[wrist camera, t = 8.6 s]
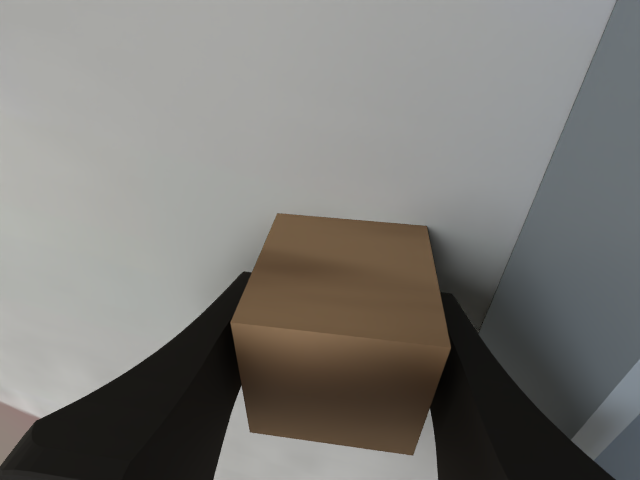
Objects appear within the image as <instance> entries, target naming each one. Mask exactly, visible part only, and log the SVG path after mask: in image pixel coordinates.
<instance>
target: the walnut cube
mask: <svg viewBox="0 0 640 480" xmlns="http://www.w3.org/2000/svg"><path fill="white" fill-rule="evenodd" d="M230 323H231V328H232V334H233V339H234V345H235V351H236V356H237V362H238V368H239V373H240V379H241V384H242V390H243V396H244V401H245V407H246V413H247V418H248V424H249V430H250V432H252V433H259V434H266V435H273V436H280V437H287V438H294V439H301V440H308V441H315V442H322V443H329V444H336V445H343V446H350V447H357V448H364V449H371V450H378V451H385V452H392V453H399V454H406V455H413V454H414V451H415V448H416V445H417V443H418V440H419V437H420V434H421V431H422V428H423V426H424V423H425V420H426V417H427V414H428V411H429V409H430V406H431V403H432V400H433V397H434V394H435V392H436V389H437V386H438V383H439V380H440V377H441V375H442V372H443V369H444V366H445V363H446V360H447V358H448V355H449V352H450V349H451V345H450V340H449V335H448V330H447V325H446V320H445V315H444V310H443V305H442V300H441V295H440V290H439V285H438V280H437V275H436V270H435V265H434V260H433V255H432V250H431V245H430V240H429V235H428V230H427V226H421V225H409V224H397V223H386V222H374V221H362V220H350V219H338V218H326V217H315V216H303V215H291V214H279V213H277V216H276V218H275V220H274V222H273V225H272V227H271V229H270V232H269V234H268V236H267V239H266V241H265V243H264V246H263V248H262V250H261V253H260V255H259V257H258V260H257V262H256V264H255V267H254V269H253V271H252V274H251V276H250V278H249V281H248V283H247V285H246V288H245V290H244V292H243V294H242V297H241V299H240V301H239V304H238V306H237V308H236V311H235V313H234V315H233V318H232V320H231V322H230Z"/></svg>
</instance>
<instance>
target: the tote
mask: <svg viewBox="0 0 640 480" xmlns="http://www.w3.org/2000/svg"><path fill="white" fill-rule="evenodd" d="M479 336H480V337H481V339H482V340H483V341H484V343H485V344H486V346H487V347H488V348H489V350H490V351H491V353H492V354H493V355H494V357H495V358H496V359H497V361H498V362H499V363H500V364H501V366H502V367H503V368H504V369H505V371H506V372H507V373H508V375H509V376H510V377H511V378H512V379H513V381H514V382H515V383H516V384H517V385H518V386H519V388H520V389H521V390H522V391H523V392H524V393H525V394H526V396H527V397H528V398H529V399H530V400H531V401H532V402H533V403H534V404H535V405H536V406H537V408H538V409H539V410H540V411H541V412H542V413H543V414H544V415H545V416H546V417H547V418H548V419H549V420H550V421H551V422H552V423H553V424H554V425H556V426H557V427H558V428H559V429H560V430H561V431H562V432H563V433H564V434H565V435H566V436H567V437H568V438H569V439H570V440H571V441H572V442H573V443H574V444H575V445H577V446H578V447H579V448H580V449H581V450H582V451H583V452H584V453H585V454H587V455H588V456H589V457H590V458H591V459H592V460H593V461H595V462H596V463H597V464H598V465H599V466H600V467H602V468H603V469H604V470H605V471H606V472H607V473H609V474H610V475H611V476H612V477H613V478H615V479H616V480H640V0H617V2H616V5H615V7H614V10H613V12H612V14H611V17H610V19H609V22H608V24H607V26H606V29H605V31H604V34H603V36H602V38H601V41H600V43H599V46H598V48H597V50H596V53H595V55H594V58H593V60H592V62H591V65H590V67H589V70H588V72H587V74H586V77H585V79H584V82H583V84H582V86H581V89H580V91H579V94H578V96H577V98H576V101H575V103H574V106H573V108H572V110H571V113H570V115H569V118H568V120H567V122H566V125H565V127H564V130H563V132H562V134H561V137H560V139H559V142H558V144H557V146H556V149H555V151H554V154H553V156H552V158H551V161H550V163H549V166H548V168H547V170H546V173H545V175H544V178H543V180H542V182H541V185H540V187H539V190H538V192H537V194H536V197H535V199H534V202H533V204H532V206H531V209H530V211H529V214H528V216H527V218H526V221H525V223H524V226H523V228H522V230H521V233H520V235H519V238H518V240H517V242H516V245H515V247H514V250H513V252H512V254H511V257H510V259H509V262H508V264H507V266H506V269H505V271H504V274H503V276H502V278H501V281H500V283H499V286H498V288H497V290H496V293H495V295H494V298H493V300H492V302H491V305H490V307H489V310H488V312H487V314H486V317H485V319H484V322H483V324H482V326H481V329H480V331H479Z"/></svg>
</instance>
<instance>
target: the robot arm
mask: <svg viewBox="0 0 640 480" xmlns="http://www.w3.org/2000/svg"><path fill="white" fill-rule="evenodd" d="M251 274H252V272H243V273H241V274H240V275H239V276H238V277H237V279H236V280H235V281H234V282H233V283H232V284H231V285H230V286H229V287H228V288H227V289H226V290H225V291H224V292H223V293H222V294H221V295H220V296H219V297H218V298H217V299H216V300H215V301H214V302H213V303H212V304H211V305H210V306H209V307H208V308H207V309H206V310H205V311H204V312H203V313H202V314H201V315H200V316H199V317H198V318H197V319H195V320H194V321H193V322H192V323H191V324H190V325H189V326H187V327H186V328H185V329H184V330H183V331H182V332H181V333H179V334H178V335H177V336H176V337H175V338H173V339H172V340H171V341H170V342H168V343H167V344H166V345H164V346H163V347H162V348H160V349H159V350H158V351H157V352H155V353H154V354H152V355H151V356H150V357H148V358H147V359H145V360H144V361H142V362H141V363H139V364H138V365H136V366H135V367H133V368H132V369H130V370H129V371H127V372H126V373H124V374H123V375H121V376H120V377H118V378H116V379H115V380H113V381H111V382H109V383H108V384H106V385H104V386H103V387H101V388H99V389H97V390H96V391H94V392H92V393H90V394H89V395H87V396H85V397H83V398H81V399H79V400H77V401H75V402H73V403H71V404H69V405H67V406H65V407H63V408H61V409H59V410H57V411H55V412H53V413H51V414H49V415H47V416H45V417H43V418H41V419H39V420H37V421H36V422H35V423H34V424H33V425H32V426H31V427H30V429H29V430H28V431H27V432H26V433H25V435H24V436H23V437H22V439H21V440H20V441H19V442H18V444H17V445H16V446H15V448H14V449H13V451H12V452H11V453H10V454H9V455H8V457H7V458H6V459H5V461H4V462H3V463H2V465H1V466H0V480H213V479H214V474H215V471H216V467H217V463H218V459H219V455H220V452H221V448H222V444H223V440H224V437H225V433H226V430H227V426H228V423H229V419H230V415H231V412H232V409H233V406H234V403H235V401H236V398H237V395H238V393H239V390H240V388H241V385H242V384H241V379H240V373H239V368H238V362H237V356H236V351H235V345H234V339H233V334H232V328H231V323H230V322H231V320H232V318H233V315H234V313H235V311H236V308H237V306H238V304H239V301H240V299H241V297H242V294H243V292H244V290H245V288H246V285H247V283H248V281H249V278H250V276H251ZM440 295H441V300H442V305H443V310H444V315H445V320H446V325H447V330H448V335H449V340H450V345H451V349H450V352H449V355H448V358H447V360H446V363H445V366H444V369H443V372H442V375H441V377H440V380H439V383H438V386H437V389H436V392H435V394H434V397H433V400H432V403H431V406H430V410H431V416H432V422H433V427H434V435H435V442H436V455H437V468H438V480H616V479H615V478H613V477H612V476H611V475H610V474H609V473H607V472H606V471H605V470H604V469H603V468H602V467H600V466H599V465H598V464H597V463H596V462H595V461H593V460H592V459H591V458H590V457H589V456H588V455H587V454H585V453H584V452H583V451H582V450H581V449H580V448H579V447H578V446H577V445H575V444H574V443H573V442H572V441H571V440H570V439H569V438H568V437H567V436H566V435H565V434H564V433H563V432H562V431H561V430H560V429H559V428H558V427H557V426H556V425H554V424H553V423H552V422H551V421H550V420H549V419H548V418H547V417H546V416H545V415H544V414H543V413H542V412H541V411H540V410H539V409H538V408H537V406H536V405H535V404H534V403H533V402H532V401H531V400H530V399H529V398H528V397H527V396H526V394H525V393H524V392H523V391H522V390H521V389H520V388H519V386H518V385H517V384H516V383H515V382H514V381H513V379H512V378H511V377H510V376H509V375H508V373H507V372H506V371H505V369H504V368H503V367H502V366H501V364H500V363H499V362H498V361H497V359H496V358H495V357H494V355H493V354H492V353H491V351H490V350H489V348H488V347H487V346H486V344H485V343H484V341H483V340H482V339H481V337H480V336H479V334H478V333H477V331H476V330H475V328H474V327H473V325H472V324H471V322H470V321H469V319H468V318H467V316H466V315H465V313H464V312H463V310H462V308H461V307H460V305H459V304H458V302H457V300H456V299H455V297H454V296H453V295H452V294H450V293H441V292H440Z"/></svg>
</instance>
